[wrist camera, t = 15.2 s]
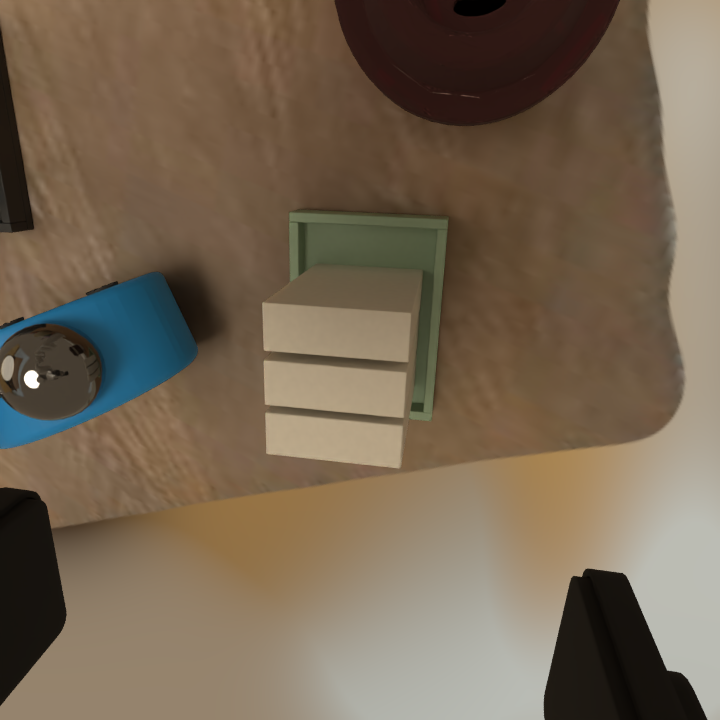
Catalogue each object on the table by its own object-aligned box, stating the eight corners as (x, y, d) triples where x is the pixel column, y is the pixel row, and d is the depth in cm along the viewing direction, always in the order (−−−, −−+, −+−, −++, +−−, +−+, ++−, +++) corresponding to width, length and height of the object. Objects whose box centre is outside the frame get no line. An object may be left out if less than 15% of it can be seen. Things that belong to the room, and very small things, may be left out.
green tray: (297, 209, 35) (288, 211, 33) (448, 216, 34) (448, 219, 32) (299, 395, 40) (291, 407, 38) (432, 408, 38) (431, 421, 37)
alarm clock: (87, 385, 42) (-92, 493, 28) (47, 312, 41) (-164, 388, 27) (231, 335, 39) (109, 429, 25) (194, 253, 37) (41, 304, 23)
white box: (316, 263, 36) (261, 302, 25) (423, 269, 35) (411, 312, 24) (316, 299, 36) (263, 350, 26) (420, 306, 36) (408, 363, 25)
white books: (315, 305, 37) (263, 360, 26) (419, 313, 36) (406, 372, 25) (315, 377, 38) (266, 454, 28) (414, 386, 37) (400, 469, 27)
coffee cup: (430, -96, 29) (412, -341, 15) (595, -7, 29) (728, -167, 15) (350, 91, 32) (274, 35, 19) (496, 169, 33) (530, 172, 19)
